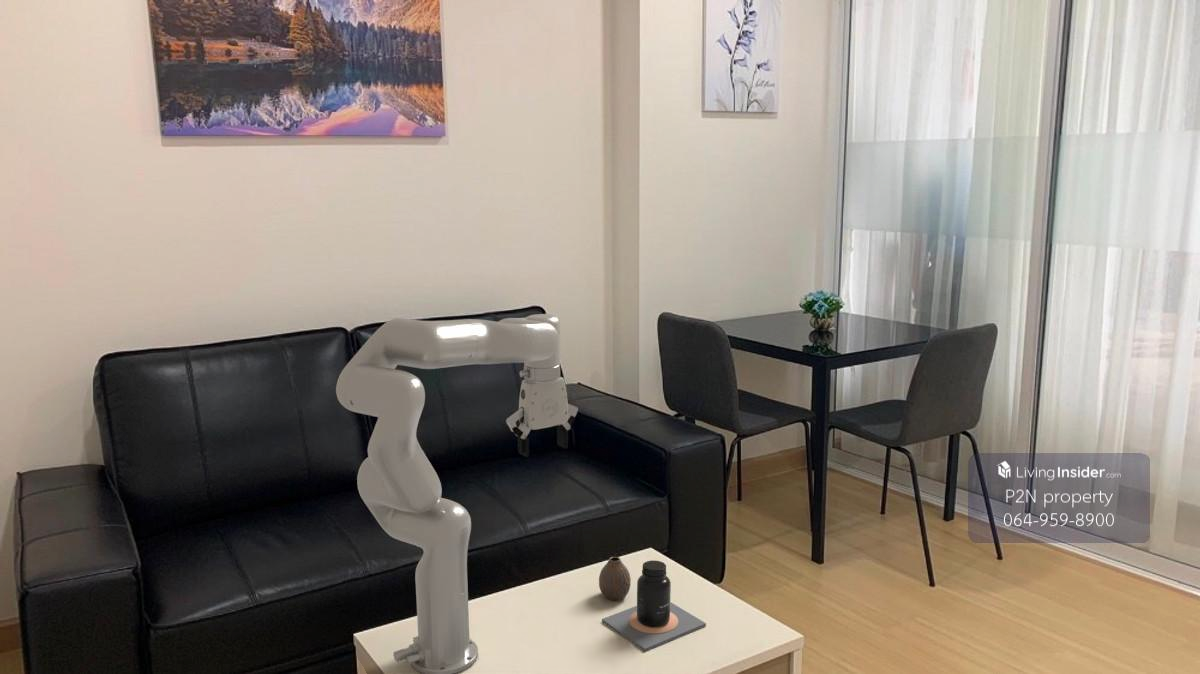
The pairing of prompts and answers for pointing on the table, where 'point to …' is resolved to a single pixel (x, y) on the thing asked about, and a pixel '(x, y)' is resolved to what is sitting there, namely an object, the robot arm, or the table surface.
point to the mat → (653, 636)
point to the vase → (614, 580)
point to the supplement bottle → (653, 595)
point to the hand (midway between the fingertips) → (543, 450)
